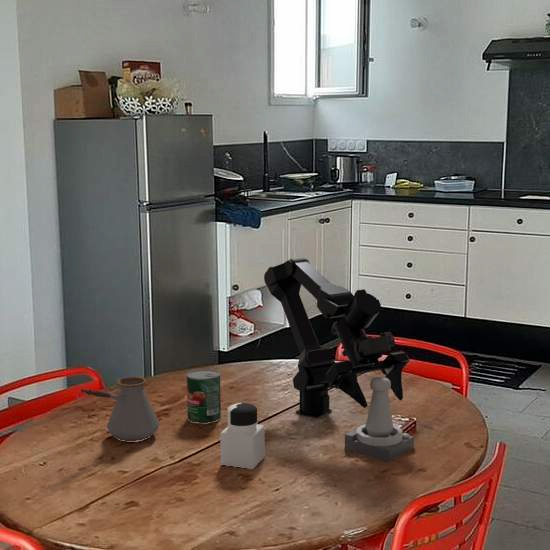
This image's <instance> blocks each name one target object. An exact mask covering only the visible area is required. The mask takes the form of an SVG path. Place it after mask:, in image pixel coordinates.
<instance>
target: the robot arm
mask: <svg viewBox="0 0 550 550" xmlns="http://www.w3.org/2000/svg"><path fill="white" fill-rule="evenodd" d="M263 279H264V284H265V286H266V287H267V289H268V292H269V293H270V295H271V296H273V297H274V298H275V299H276V300H277V301H278V302H279V303H281V306H282V310H283V312H284V315H285V316H286V319H287V322H288V326H289V328H290V330H291V333H292V336H293V339H294V341H295V344H296V346H297V349H298V351H299V359H298V362H297V368H298V371H297V373H296V374H295V375H294V377H293V378H292V385H293V389H295V390H297V391H298V392H299V409H297V410H295V414H298V415H301V416H306V417H308V418H309V417H310V418H314V419H319V418H321V417H324V416H325V415H327V414H329V413H332V412H333V410H332V409H331V408H330V395H329V389H330V388H331V389H332V388H334V389H336V390H337V389H338V390H340V391H341V392H343V393H345V394H346V395H348V396H349V397H350V398H351V399H352V400H354V401H355V402H356V403H358V405H360V406H361V407H362V408H364V409H366V408H367V407H368V402H367V399H366V397H365V394H364V393H363V390H362V389H361V386H360V384H359V382H358V375H361V374H365V373H372V372H376V371H381V373H382V374H383V375H384V377H385V378H388V379H389V380H390V381H391V387H390V390H391V391H392V392H393V394H394V396H395V397H396V398H397V399H398V400H399V401H400V402H401V401H403V399H404V391H403V382H402V373H403V370H404V369H405V368H406V367H407V365H408V364H409V363H410V362H411V361H410V360H411V359H410V358H409V356H408V354H407V352H404V351H401V350H400V351H396V352H390V351H391V350H392V349H391V348H392V347H394V346H395V345H396V341H395V337H394V335H393V334H392V332H391V331H387V332H386V331H385V332H383V333H380V334H379V336H375V337H372V336H371V335H369V336H368V335H367V333H366V331H365V329H367V328H368V327H369V326H370V325H371V324H372V322H373V321H374V319H376V317H377V316H378V314H380V311H381V309H382V305H381V302H380V300H379V299H378V298H377V297H376V296H374V295H372V294H370V293H368V292H367V290H366V289H365V288H363V289H357V290H356V291H355V292H354V293H352V292H351V291H350V290H349V289H347V288H345V287H343V286H341V285H336V284H333V283H332V282H331V281H329V280H328V279H327V278H325V276H323V274H321V272H319V270H317V269H316V268H315V267H314V266H312V264H310V261H309V259H308V258H305V257H299V258H290V259H288V260H286V261H285V262H283V263H280V264H277V265H275V266H269V267H268V268H267V270H266V272H264V277H263ZM301 287H303V288H304V289H305V290H307V292H308V293H310V294H311V295H312V297H313V298H314V299H315V300H316V308H317V309H318V311H319V312H320V313H321V314H322V315H323V317H324V318H326V319H334V318H338V319H337V320H336V321H334V322H333V321H332V322H333V323H332V327H331V329H330V334H331V335H337V337H338V340H339V341H340V343H341V345H342V348H343V351H342V352H341V354H342V356H343V357H347V359H348V360H343V361H335V360H334V358H333V355H332V351H331V350H330V348H323V347H322V346H320V344H319V342H318V339H317V336H316V334H315V330H314V329H313V327H312V323H311V322H310V318H309V315H308V313H307V311H306V308H305V305H304V303H303V300H302V298H301V295H300V292H301ZM384 352H389V353H388V354H387V356H386V357H385V358H384V360H383V359H382V360H379V359H381V358H382V357H383V355H384V354H383V353H384Z"/></svg>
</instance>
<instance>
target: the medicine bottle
mask: <svg viewBox="0 0 550 550" xmlns="http://www.w3.org/2000/svg"><path fill="white" fill-rule="evenodd" d="M219 435H220V437H219V439H220V441H219V442H220V446H219V447H220V465H221V466H222V465H226V466H225V467H229V466H234V467H233V468H236V467H241V468H240V469H243V468H247V469H246V470H251V469H253V470H254V469H255V468H256V467H257V465H259V464H260V463H261V462H262V460H263V459H264V458H265V457H266V455H265V453H266V451H265V447H266V446H265V442H266V441H265V437H266V436H265V425H264V424H258V408H257V407H256V405H254V404H251V403H248V402H238V403H234V404H231V405H229V406H228V407H227V426H226V427H225V429H223V430H221V432H220V433H219ZM258 463H259V464H258Z"/></svg>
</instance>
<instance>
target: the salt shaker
mask: <svg viewBox="0 0 550 550" xmlns="http://www.w3.org/2000/svg"><path fill="white" fill-rule="evenodd" d="M390 387H391V381H390V380H389V379H388V378H385V376H384V377H383V376H374V377H373V378H372V379H371V380H370V383H369V388H370V389H371V390H372V394H371V399H370V404H369V409H368V413H367V417H366V423H365V424H366V430H367V432H368V434H369V436H372V437H381V438H385V437H389V436H390V434H391V432H392V429H393V425H394V421H393V416H392V409H391V402H390V397H389V391H390V390H391V388H390Z"/></svg>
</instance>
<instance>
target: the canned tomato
mask: <svg viewBox="0 0 550 550" xmlns="http://www.w3.org/2000/svg"><path fill="white" fill-rule="evenodd" d="M186 394H187V395H186V396H187V397H186V399H187V401H186V402H187V418H188V419H189V420H190V421H192V422H199V423H208V422H213V421H216V420H218V419H220V417H221V414H222V413H221V412H222V410H221V409H222V407H221V404H222V403H221V399H222V398H221V394H222V393H221V372H220V371H218V370H215V369H211V368H210V369H209V368H202V369H199V368H198V369H195V370H191V371H188V372H187V373H186ZM221 418H222V417H221ZM188 419H187V420H188ZM220 420H221V419H220Z"/></svg>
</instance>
